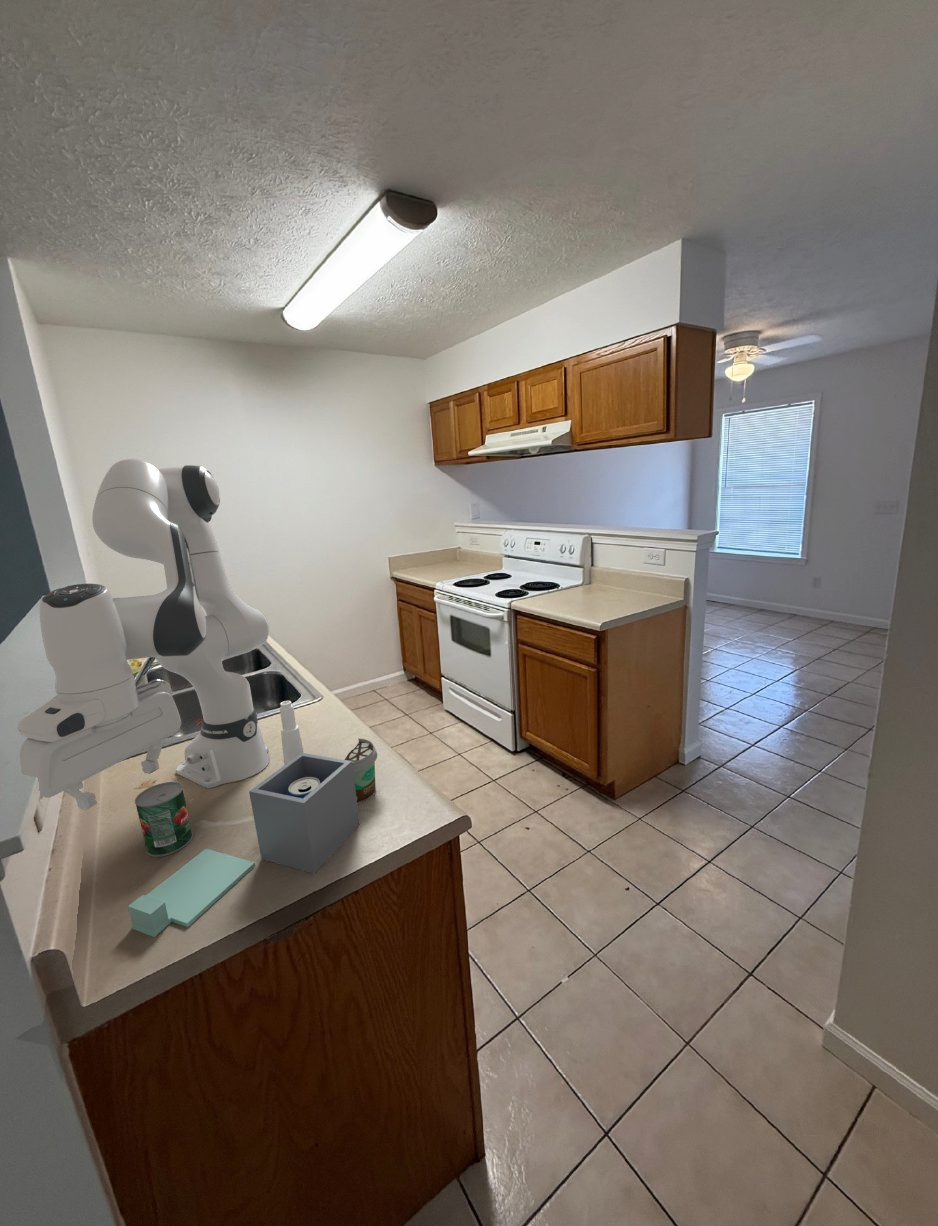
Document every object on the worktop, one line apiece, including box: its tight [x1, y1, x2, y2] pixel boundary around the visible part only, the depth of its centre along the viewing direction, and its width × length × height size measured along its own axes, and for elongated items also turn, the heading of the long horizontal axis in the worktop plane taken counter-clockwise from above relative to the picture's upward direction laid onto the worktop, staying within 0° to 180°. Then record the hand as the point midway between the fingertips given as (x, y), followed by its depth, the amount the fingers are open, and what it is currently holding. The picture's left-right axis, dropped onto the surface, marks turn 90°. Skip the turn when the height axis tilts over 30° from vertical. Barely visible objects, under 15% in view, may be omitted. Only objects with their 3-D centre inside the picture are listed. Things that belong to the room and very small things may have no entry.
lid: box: [128, 848, 256, 938], centre depth 85 cm, size 12×17×4 cm
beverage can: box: [287, 777, 321, 799], centre depth 95 cm, size 6×6×12 cm
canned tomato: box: [134, 781, 194, 858], centre depth 97 cm, size 8×8×11 cm
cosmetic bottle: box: [279, 700, 305, 766], centre depth 110 cm, size 6×6×22 cm
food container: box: [344, 738, 378, 804], centre depth 110 cm, size 12×6×10 cm, turn 168°
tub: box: [248, 752, 361, 874], centre depth 95 cm, size 12×14×14 cm
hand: (121, 787), depth 74 cm, fingers open, 8 cm apart
